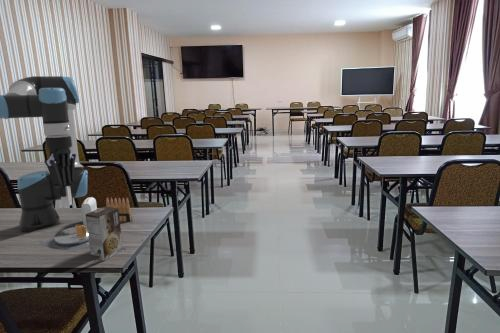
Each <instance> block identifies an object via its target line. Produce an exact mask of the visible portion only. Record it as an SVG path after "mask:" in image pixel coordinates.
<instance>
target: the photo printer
mask: <svg viewBox="0 0 500 333" xmlns="http://www.w3.org/2000/svg"><path fill="white" fill-rule="evenodd" d="M80 208H81V213H82V214H81V216H82V223H83V224H82V225H83V226H87V222H86V214H88V213H90V212H92V211H95V210H97V209H98V207H97V200H96V198H94V197H93V196H91V197H87V198H85V199H84V201H82V204H81V207H80Z"/></svg>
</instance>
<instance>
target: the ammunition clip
mask: <svg viewBox="0 0 500 333" xmlns="http://www.w3.org/2000/svg"><path fill="white" fill-rule="evenodd" d="M125 199H126V200H125ZM106 206H107V207H113V208H118V210H119V219H120V222H126V223H130V224H133V217H132V212H131V206H130V201H129V198H128V197H126V198H124V197H122V199H121V198H120V197H118V199H117V197H114V200H113V198H112V197H110V200H109V197H106Z"/></svg>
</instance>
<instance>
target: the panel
mask: <svg viewBox="0 0 500 333" xmlns="http://www.w3.org/2000/svg"><path fill="white" fill-rule="evenodd" d="M38 245H39V246H46V247H50V248H55V249H60V250H66V251H71V252H77V251H79V250H81V249H83V248H85V247H87V246H90V245H89V241H87V242H85V243H81V244H77V245H71V246H61V245H57V244H56V243H55V238H54V237H53V238H50V239H48V240H46V241H43V242H41V243H39V244H38Z"/></svg>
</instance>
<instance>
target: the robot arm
mask: <svg viewBox="0 0 500 333" xmlns="http://www.w3.org/2000/svg"><path fill="white" fill-rule="evenodd" d="M79 103H80V99H79V94H78V90H77V86H76V83H75V80H74V79H73V78H72V77H71V76H61V75H60V76H59V75H58V76H55V75H54V76H48V75H47V76H43V75H42V76H38V75H36V76H26V77H24V78H20V79H17V80H16V81H14V82H13V83H11V84H10V85H9V87H8V91H7V93H5V94H0V119H3V120H4V119H5V120H7V119H21V118H22V119H23V118H25V119H26V118H42V128H43V135H44V136H45V138H44V141H45V146H46V149H47V150H49V158H48V159H45V160H44V165H45V166H46V167H47V169H48V170H40V171H34V172H30V173H26V174H24V175H22V176H19V178H18V179H17V191H18V196H19V202H20V210H21V214H20V219H19V224H18V226H19V231H21V232H25V233H32V232H36V231H40V230H43V229H48V228H51V227H53V226H56V225H57V226H58V225H60V223H61V219H60V215H59V214H58V212H57V210H56V208H55V206H54V202H53V201H61V206H63V207H64V206H67V207H68V206H69V207H70V206H72V205H73V199H77V198H82V197H85V196H86V195H87V194H88V174H89V172H88V169H84V165H82V164H81V163H80V157H79V149H78V148H79V147H78V141H77V140H78V139H77V132H76V126H75V125H76V124H75V118H74V117H75V115H74V110H75V109H76V108H77V104H79Z"/></svg>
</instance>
